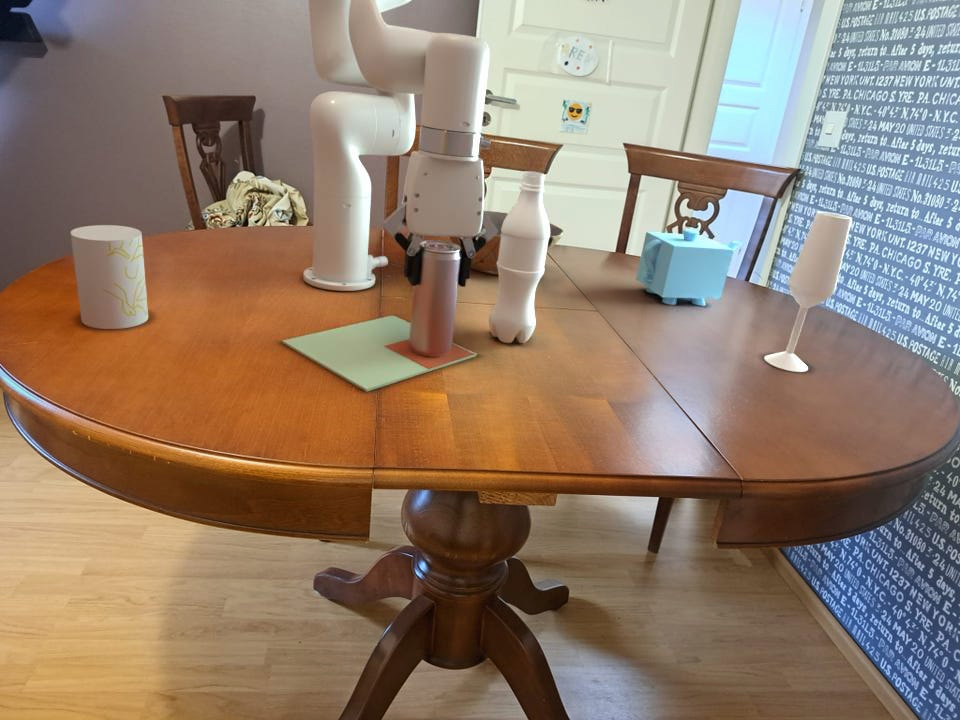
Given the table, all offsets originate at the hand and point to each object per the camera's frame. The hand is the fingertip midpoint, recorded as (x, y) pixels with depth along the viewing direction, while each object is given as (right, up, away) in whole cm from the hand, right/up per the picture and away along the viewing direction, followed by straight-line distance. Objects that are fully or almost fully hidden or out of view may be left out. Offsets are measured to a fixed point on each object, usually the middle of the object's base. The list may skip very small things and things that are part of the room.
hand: (436, 282), depth 89 cm
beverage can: (-1, -9, +4) cm, 10 cm away
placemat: (-8, -9, +3) cm, 12 cm away
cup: (-45, -5, +2) cm, 45 cm away
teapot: (+47, +2, +46) cm, 66 cm away
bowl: (+9, +8, +49) cm, 51 cm away
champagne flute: (+55, -11, +18) cm, 59 cm away
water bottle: (+10, -7, +13) cm, 19 cm away
